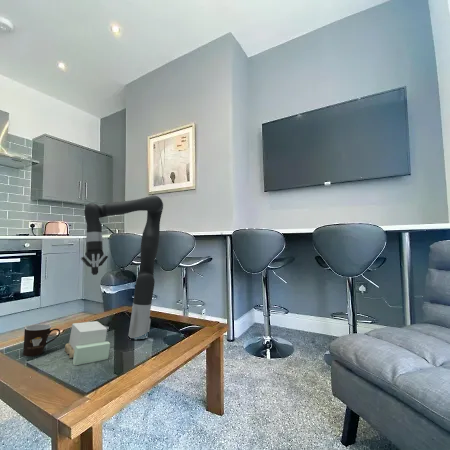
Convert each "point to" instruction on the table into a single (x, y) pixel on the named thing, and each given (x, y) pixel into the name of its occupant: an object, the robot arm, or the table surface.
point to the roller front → (71, 353)
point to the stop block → (91, 353)
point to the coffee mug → (36, 339)
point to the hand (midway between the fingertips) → (94, 274)
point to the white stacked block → (87, 333)
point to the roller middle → (68, 349)
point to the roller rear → (66, 346)
